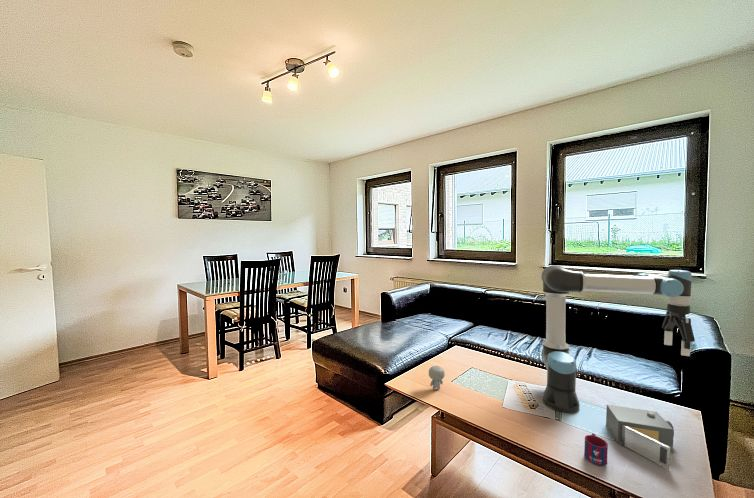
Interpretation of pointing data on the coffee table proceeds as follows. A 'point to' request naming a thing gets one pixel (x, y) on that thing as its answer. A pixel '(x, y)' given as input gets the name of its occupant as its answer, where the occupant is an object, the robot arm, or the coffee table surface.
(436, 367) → the figurine
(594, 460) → the mug
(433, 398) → the coffee table surface
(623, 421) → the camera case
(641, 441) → the side door
